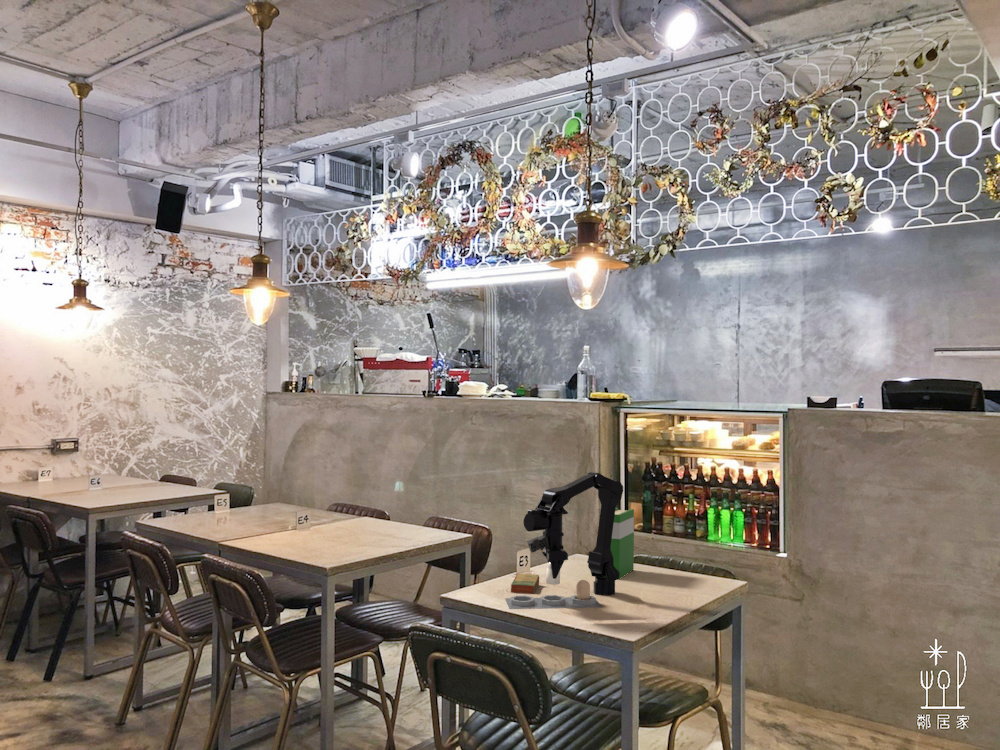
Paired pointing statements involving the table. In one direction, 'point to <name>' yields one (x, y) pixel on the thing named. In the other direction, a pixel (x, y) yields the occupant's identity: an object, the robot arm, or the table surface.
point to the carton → (525, 583)
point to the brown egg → (583, 590)
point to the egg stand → (550, 602)
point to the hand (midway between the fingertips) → (553, 576)
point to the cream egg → (549, 576)
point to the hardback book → (623, 541)
